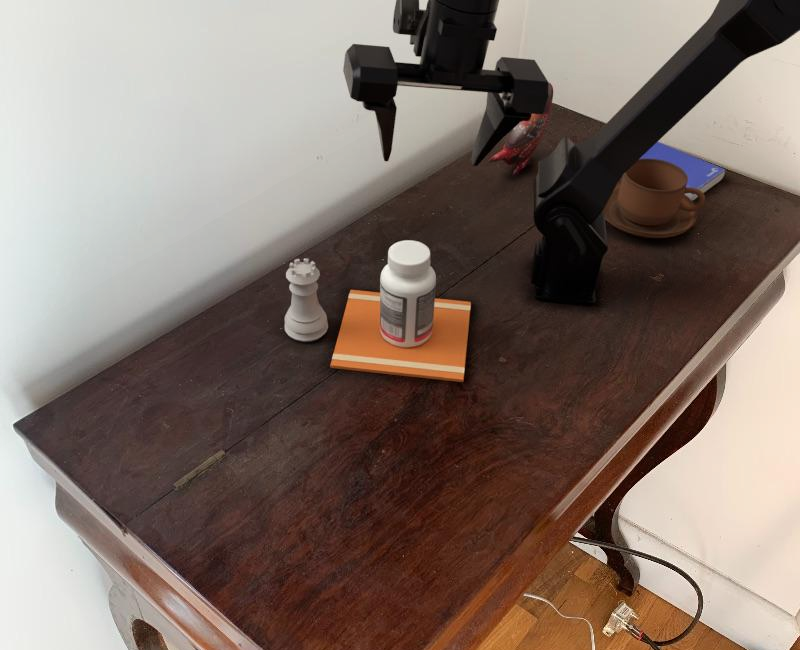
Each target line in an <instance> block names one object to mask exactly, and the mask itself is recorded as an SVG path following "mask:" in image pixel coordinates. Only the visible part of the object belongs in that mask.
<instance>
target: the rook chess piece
mask: <svg viewBox="0 0 800 650" xmlns="http://www.w3.org/2000/svg"><path fill="white" fill-rule="evenodd" d="M288 267H289V268H288V269H287V270H286V272H285V278H286V279H287V281H288V282H289V283H290V284H289V285H288V286H289V291H290V292H291V302H290V305H289V307H288V309H287V311H286V313H285V315H284V331H285V333H286V334H287V336H289V337H290V338H291V339H293V340H295V341H296V342H301V343H312V342H314V341H318V340H319V339H321V338H322V337H323V336H324V335H325V334H326V333H327V332H328V329H329V323H328V316H327V313H326V311H324V309H323V307H322V306H321V304H320V303H319V298H318V295H317V291H318V289H319V283H318V282H317V281H318V280H319V278H320V276H321V272H320V270H319V269H318V268H317V267H316V262H314V260H312V261H310V258H305V257H304V258H303V261H302V262H301V260H300V258H296V259H294V260H293V262H290V263H289V265H288Z"/></svg>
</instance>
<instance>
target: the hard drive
mask: <svg viewBox="0 0 800 650" xmlns="http://www.w3.org/2000/svg"><path fill="white" fill-rule="evenodd" d="M645 158H651V159H659V160H664V161H667V162H670V163H672V164H675V165H677V166H678V167H680V168H681V169H682V170H683V171H684V172H685V173H686V174H687V177H688V182H687V185H686V187H693V188H697V189H699V190H701V191H702V192H703V194H704V193H706V192H707V191H708V190H710V189H711V188H713V187H714V186H715V185H717V184H718V183H719V182H721V181H722V179H723V178H724V176H725V174H726V169H724V168H722V167H720V166H717V165H715V164H712V163H710V162H708V161H706V160H704V159H700V158H698V157H695V156H693V155H691V154H689V153H686V152H684V151H681V150H679V149H676V148H674V147H672V146H669V145H667V144H664V143H662V142H659V141H658V142H657V143H656V144H655V145H654V146H652V147H651V148H650V149H649V150H648V151H647V152H646V153H645V154H644V155H643V156H642V157H641V158H640V159H645ZM685 195H686V196H687V197H688V198H690V199H691V200H692V201H695V200H696V199H697V198H699V197H698V196H697V195H696V194H694V193H687V194H685Z"/></svg>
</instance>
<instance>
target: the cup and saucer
mask: <svg viewBox="0 0 800 650" xmlns="http://www.w3.org/2000/svg"><path fill="white" fill-rule="evenodd" d="M687 182H688V177H687V174H686V173H685V172H684V171H683V170H682V169H681V168H680V167H678V166H677V165H675V164H672V163H670V162H667V161H664V160H659V159H651V158H645V159H639V160H638V161H637V162H636V163H635V164H633V165H632V166H631V167H630V168H629V169H628V170H627V171H626V172H625V173H624V174H623V175H622V177H621V180H619V181H618V183H617V185H616V187H615V189H614V191H613V193H612V195H611V196H610V198H609V200H608V202H607V204H606V206H605V208H604V210H605V221H606V222H608V224H610V225H611V226H612V227H614V228H615V229H617V230H620V231H621V232H623V233H626V234H629V235H632V236H636V237H639V238H646V239H666V238H671V237H677V236H678V235H681V234H684V233H686V232H688V231H689V230H690V229H691V228H692V227H693V226H694V225H695V223H696V221H697V219H698V217H699V215H698V214H699V213H698V210H700V209H701V208H702V207H703V206H704V204H705V202H706V196H705V194H704V193H703V192H702V191H701V190H699V189H697V188H693V187H686V185H687ZM687 193H694V194H696V195H697V196H698V197H697V198H698V202H697V203H696V204H695V203H694V201H693V200H691V199H690V198H688V197H687V196H686V195H685V194H687Z"/></svg>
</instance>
